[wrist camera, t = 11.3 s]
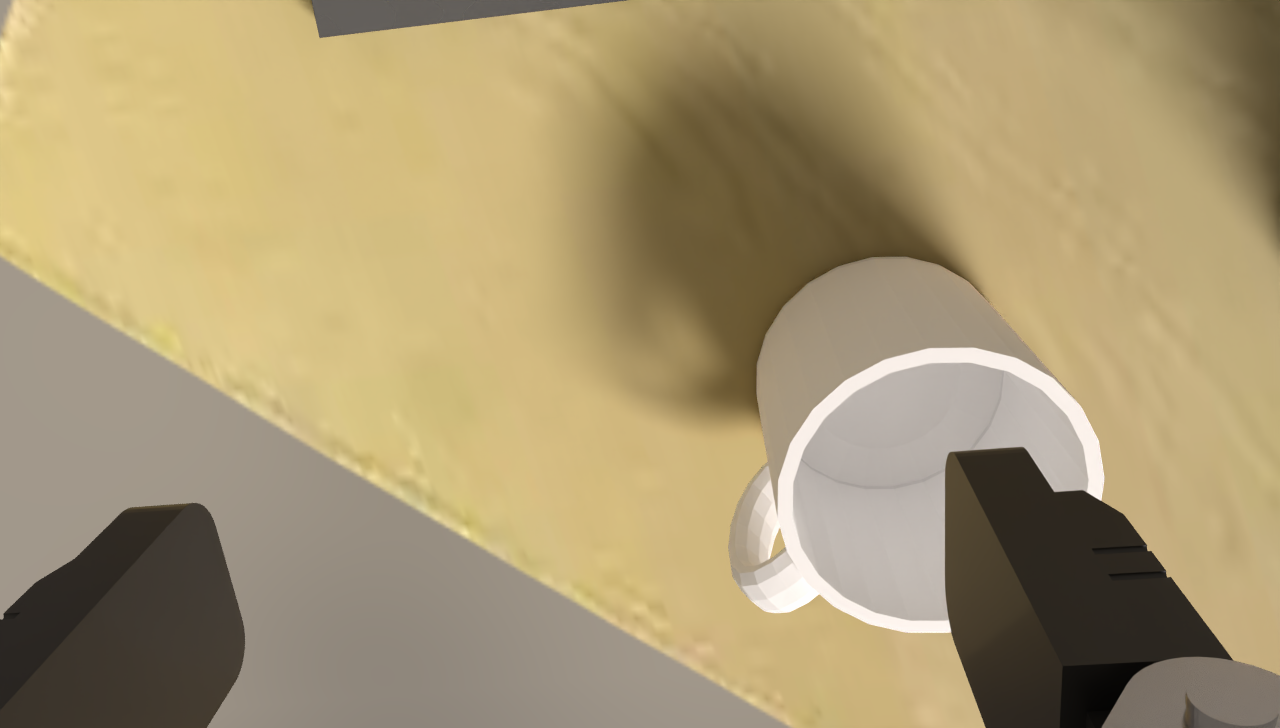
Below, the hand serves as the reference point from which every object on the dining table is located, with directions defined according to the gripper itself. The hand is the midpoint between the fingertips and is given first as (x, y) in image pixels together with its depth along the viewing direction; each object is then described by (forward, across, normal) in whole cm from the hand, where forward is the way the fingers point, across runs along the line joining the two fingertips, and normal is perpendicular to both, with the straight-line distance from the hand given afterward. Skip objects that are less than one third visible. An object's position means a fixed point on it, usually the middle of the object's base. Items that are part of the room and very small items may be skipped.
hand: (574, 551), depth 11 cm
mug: (+30, -7, +12) cm, 33 cm away
